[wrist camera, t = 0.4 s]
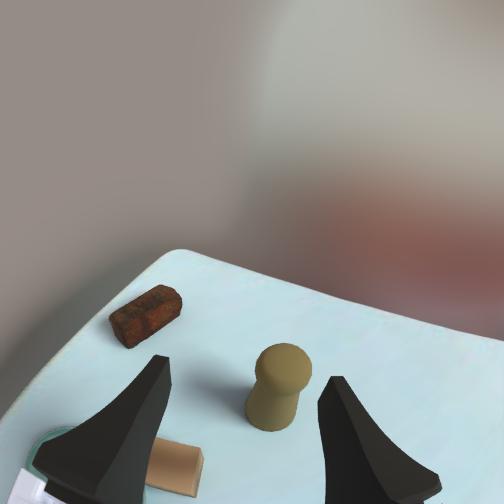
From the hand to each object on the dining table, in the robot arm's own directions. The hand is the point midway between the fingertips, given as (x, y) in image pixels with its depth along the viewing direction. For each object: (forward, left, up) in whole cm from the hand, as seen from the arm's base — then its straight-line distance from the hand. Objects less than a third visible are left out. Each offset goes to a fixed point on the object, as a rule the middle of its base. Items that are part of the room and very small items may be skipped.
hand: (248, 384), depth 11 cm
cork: (+8, -3, -20) cm, 22 cm away
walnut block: (-2, +6, -20) cm, 21 cm away
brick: (+18, +15, -20) cm, 31 cm away
